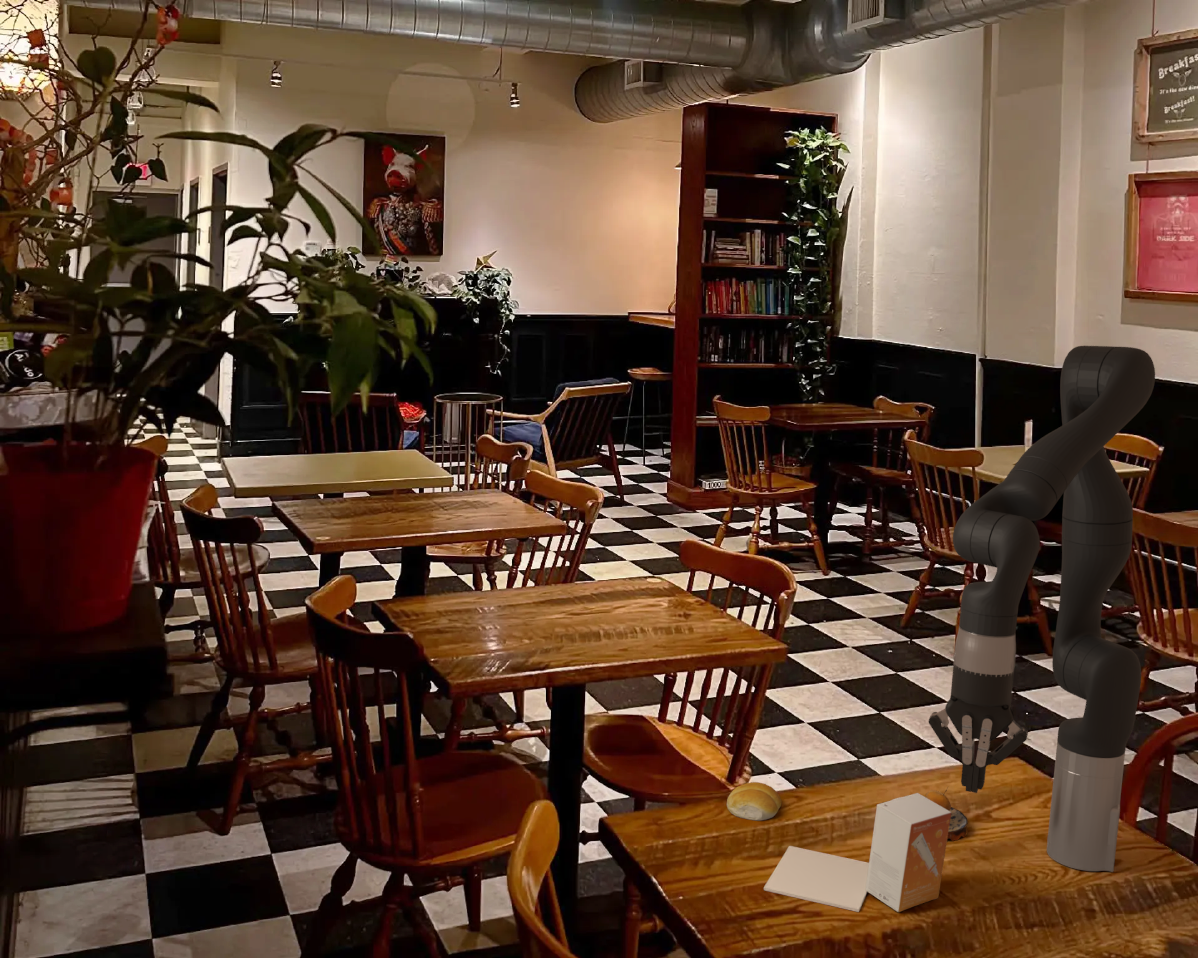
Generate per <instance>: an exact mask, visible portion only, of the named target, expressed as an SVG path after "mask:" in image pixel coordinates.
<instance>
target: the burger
mask: <svg viewBox="0 0 1198 958" xmlns="http://www.w3.org/2000/svg"><path fill="white" fill-rule="evenodd" d="M948 788H949V786H947V788H946V790H945V791H944V792H941V791H938V790H935V789H934V790H933V789H931V790H929V791H927V792H926V794H925V795H926V796H925V797H926V798H928V799H929V800H931V801H933V802H934V803H936V804H938V805H940V806H941V807H943V808H945V809H947V810H948V811H950V812H951V818H950V825H949V831H948V838H947V840H948V839H950V841H951V842H954V841H956V840H959V839H960V838H962V839H963V838H964V837H966V835H967V834H968V830H969V829H968V822H969V820H968V818H967V816H966V815H965V814H964V813H963V812H962V811H961V810H958V809H957V808H955V807H953V806H952V804H951V802H950V800H949V798H948V797H947V795H946V794H945V793H946V792H947V790H949V789H948Z"/></svg>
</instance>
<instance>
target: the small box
mask: <svg viewBox="0 0 1198 958" xmlns="http://www.w3.org/2000/svg"><path fill="white" fill-rule="evenodd" d="M875 810H876V811H875V817H874V824H873V833H872V839H871V846H870V854H869V861H868V863H869V867H868V874H867V882H866V889H865V890H866V891H868V892H867V893H869V894H870V895H872V896H874V897H875V898H876V899H878V900H880V902H882V903H884V904H885V905H887V906H888V907H890V908H891V909H893V910H894V911H896V912H897V913H901V912H903V911H905V910H908V909H911V908H913V907H916V906H919V905H922V904H923V903H927V902H930V901H932V900H936V899H938V898H939V894H940V887H941V880H942V876H943V875H942V874H943V871H944V870H943V868H944V862H945V857H946V849H947V843H948V831H949V825H950V818H951V812H950V811H948V810H947V809H945V808H943V807H941V806H940V805H938V804H936V803H934V802H933V801H931V800H929V799H928V798H926V796H924V795H922V794H920V793H919V792H915V793H912V794H910V795H909V794H908V795H904V796H899V797H896V798H893V799H891V800H888V801H885V802H880V803H878V804H876V809H875Z"/></svg>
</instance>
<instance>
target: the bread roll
mask: <svg viewBox="0 0 1198 958" xmlns="http://www.w3.org/2000/svg"><path fill="white" fill-rule="evenodd" d="M726 800H727V801H726V807H727V810H728V811H729V812H730V813H731V815H734V816H735V817H737V818H740V819H746V820H750V821H766V820H769V819H772V818H774V816H776V814H777V813H778V812H779V809H780V808H781V806H782V799H781V797H780V795H779V793H778V792H777V791H776V790H775V788H773V787H772V786H770V785H768V784H766V783H762V782H758V781H752V782H746V783H743V784H741V785H738V786H736V787H735V788H734V789H733V790H732V791H731V792H730V794H729V795H728V796H727V799H726Z"/></svg>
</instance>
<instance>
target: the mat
mask: <svg viewBox="0 0 1198 958" xmlns="http://www.w3.org/2000/svg"><path fill="white" fill-rule="evenodd" d="M868 867H869V861H868V862H866V861H862V860H857V859H852V858H849V857H848V858H847V857H844V856H839V855H834V854H829V853H825V852H821V851H816V850H813V849H812V850H811V849H808V848H807V849H805V848H802V847H797V846H793V845H789V846H788V847H787V849H786V850H785V853H784V854H783V855H782V858H781V859H780V861H779V862H778V864H777V866H776V867H775V869H774V871H773V872H772V873H771V875H770V877H769V878H768V880H767V881H766V883H765V885H764V887H763V891H766V892H770V893H774V894H779V895H783V896H788V897H792V898H797V899H801V900H805V901H809V902H812V903H813V902H814V903H818V904H822V905H826V906H832V907H835V908H840V909H844V910H849V911H853V912H856V913H859V912H860V910H861V908H862V905H863V903H864V901H865V899H866V896H867V894H868V893H869V892H868V891H866V890H865V889H866V882H867V874H868Z"/></svg>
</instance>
